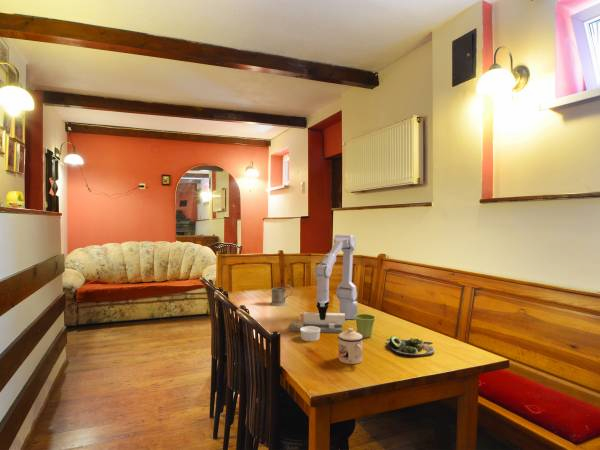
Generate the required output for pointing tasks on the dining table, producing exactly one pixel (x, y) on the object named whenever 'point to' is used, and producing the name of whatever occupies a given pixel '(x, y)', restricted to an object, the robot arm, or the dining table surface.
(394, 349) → the salad plate
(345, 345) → the teacup with lid
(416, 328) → the dining table surface
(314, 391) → the dining table surface
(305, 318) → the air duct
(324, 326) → the collar stand
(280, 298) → the mug
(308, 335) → the ramekin
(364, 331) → the plant pot
